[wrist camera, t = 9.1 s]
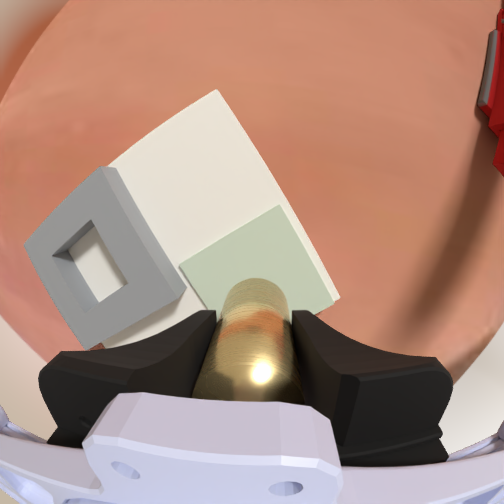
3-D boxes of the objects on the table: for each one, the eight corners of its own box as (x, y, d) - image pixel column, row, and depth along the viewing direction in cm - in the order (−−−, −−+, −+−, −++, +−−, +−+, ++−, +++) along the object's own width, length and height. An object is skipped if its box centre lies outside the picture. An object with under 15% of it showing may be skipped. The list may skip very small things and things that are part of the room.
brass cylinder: (287, 277, 13) (308, 363, 6) (287, 334, 14) (300, 441, 7) (222, 278, 13) (183, 363, 6) (226, 335, 14) (199, 440, 7)
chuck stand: (336, 292, 18) (348, 310, 16) (144, 384, 21) (132, 406, 18) (219, 94, 16) (211, 77, 13) (45, 232, 19) (20, 239, 16)
